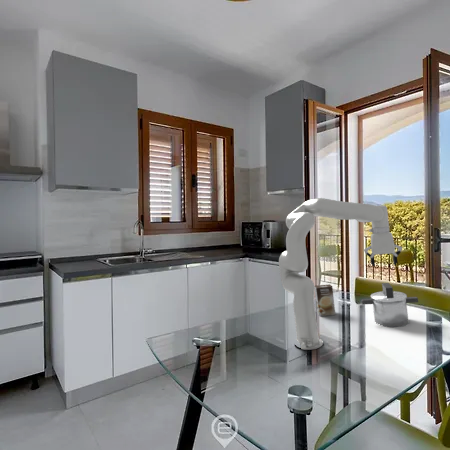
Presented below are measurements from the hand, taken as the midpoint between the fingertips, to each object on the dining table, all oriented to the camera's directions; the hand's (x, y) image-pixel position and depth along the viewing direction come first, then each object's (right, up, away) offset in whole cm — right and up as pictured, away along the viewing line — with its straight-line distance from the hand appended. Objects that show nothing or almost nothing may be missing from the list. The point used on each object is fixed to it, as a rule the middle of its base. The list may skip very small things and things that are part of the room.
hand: (384, 265), depth 160 cm
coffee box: (-21, -31, +24) cm, 45 cm away
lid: (+2, -16, 0) cm, 16 cm away
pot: (+4, -28, +1) cm, 28 cm away
